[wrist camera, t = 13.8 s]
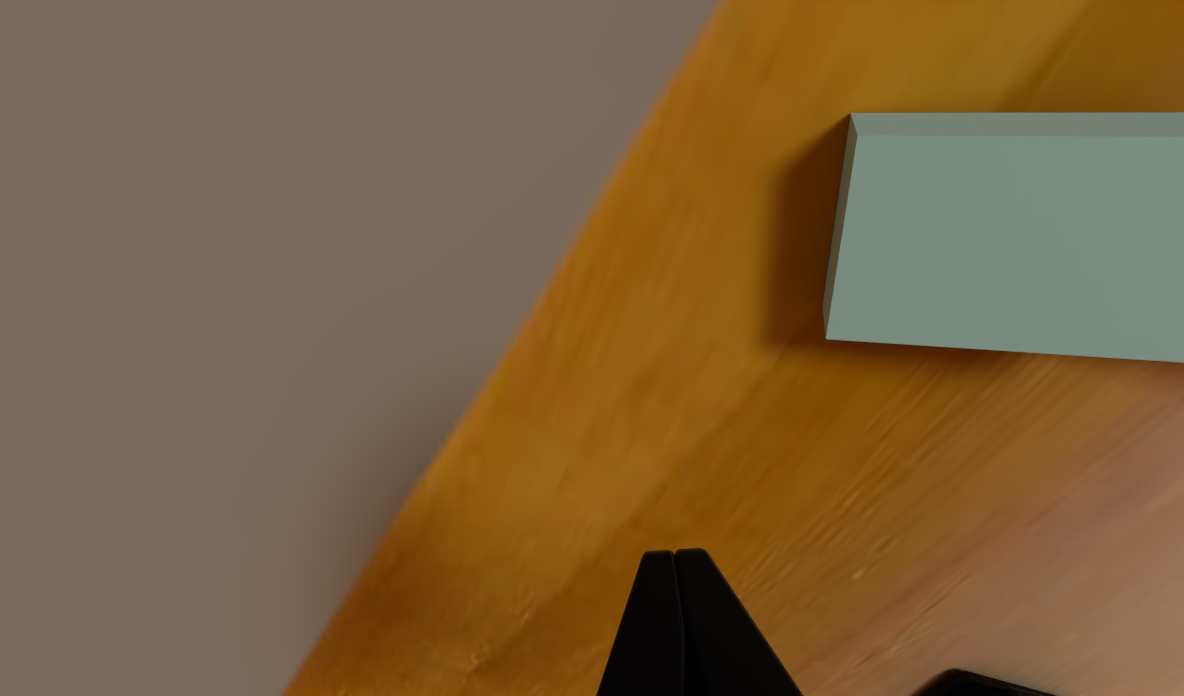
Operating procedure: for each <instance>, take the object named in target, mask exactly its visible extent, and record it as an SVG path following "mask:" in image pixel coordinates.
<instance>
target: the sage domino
mask: <svg viewBox="0 0 1184 696" xmlns="http://www.w3.org/2000/svg"><path fill="white" fill-rule="evenodd" d="M822 307H823V317H824V326H825V336H826V339H830V340H846V341H861V342H876V343H892V344H907V345H922V346H938V347H953V348H968V349H984V350H999V351H1014V352H1030V353H1045V354H1060V355H1075V356H1091V357H1106V358H1121V359H1137V360H1152V361H1167V362H1183V363H1184V112H1161V113H851V115H850V121H849V128H848V135H847V142H846V149H845V155H844V162H843V169H842V176H841V183H840V189H839V196H838V203H837V210H836V217H835V223H834V230H833V237H832V244H831V250H830V257H829V264H828V271H827V278H826V284H825V291H824V298H823V305H822Z"/></svg>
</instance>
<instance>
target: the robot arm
mask: <svg viewBox="0 0 1184 696" xmlns="http://www.w3.org/2000/svg"><path fill="white" fill-rule="evenodd" d="M596 696H803V694H802V693H801V691H800V690H799V688H798V687H797V685H796V684H795V682H794V681H793V679H792V678H791V676H790V675H789V673H788V672H787V670H786V669H785V667H784V666H783V664H782V663H781V661H780V660H779V658H778V657H777V656H776V654H775V653H774V651H773V650H772V648H771V647H770V645H769V644H768V642H767V641H766V639H765V638H764V636H763V635H762V633H761V632H760V630H759V629H758V627H757V626H756V624H755V623H754V621H753V620H752V618H751V617H750V615H749V614H748V612H747V611H746V609H745V608H744V606H743V605H742V603H741V602H740V600H739V599H738V597H737V596H736V594H735V593H734V591H733V590H732V588H731V587H730V585H729V584H728V582H727V581H726V579H725V578H724V576H723V575H722V573H721V572H720V570H719V569H718V567H717V566H716V564H715V563H714V561H713V560H712V558H711V557H710V555H709V554H708V553H707V552H706V551H705V550H704V549H702V548H692V549H679V550H677V551H676V552H675V555H674V553H673V552H672V551H670V550H658V551H647V552H645V553H644V554H643V556H642V558H641V561H640V564H639V567H638V571H637V574H636V577H635V580H634V583H633V586H632V589H631V592H630V595H629V598H628V601H627V604H626V607H625V610H624V613H623V616H622V619H621V622H620V625H619V628H618V631H617V634H616V637H615V640H614V643H613V646H612V649H611V652H610V656H609V659H608V662H607V665H606V668H605V671H604V674H603V677H602V680H601V683H600V686H599V689H598V692H597V695H596ZM924 696H1055V695H1051V694H1047V693H1044V692H1040V691H1037V690H1033V689H1029V688H1026V687H1022V686H1018V685H1015V684H1011V683H1007V682H1004V681H1000V680H996V679H993V678H989V677H986V676H982V675H978V674H975V673H971V672H966V671H961V672H956V673H953V674H952V675H950V676H949V677H947V678H946V679H945V680H944V681H942V682H941V683H940V684H938V685H937V686H936V687H935V688H933V689H932V690H931V691H930V692H928V693H927V694H926V695H924Z"/></svg>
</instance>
